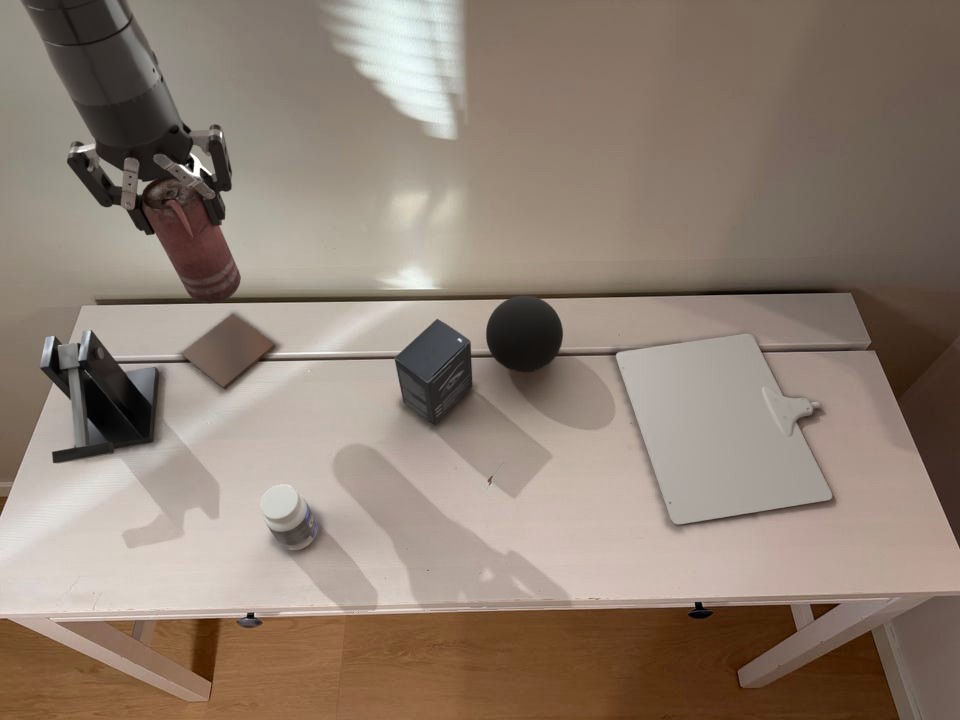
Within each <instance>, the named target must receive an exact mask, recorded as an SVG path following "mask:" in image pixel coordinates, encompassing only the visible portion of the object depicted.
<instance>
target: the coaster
mask: <svg viewBox="0 0 960 720" xmlns="http://www.w3.org/2000/svg"><path fill="white" fill-rule="evenodd" d="M275 348H276V344H275V343H274V342H273V341H271V340H270V339H269V338H267V337H266V336H264V335H263V334H261V333H260V332H259V331H258V330H256V329H255V328H253V326H250V325H249V324H248V323H246V322H245V321H243V319H241V318H240V317H238V316H237V315H235V314H234V313H231V314H230V315H229V316H227V317H225V318H224V319H223V320H222V321H221V322H220V323H218V324H217V325H216V326H214V327H213V328H212V329H210V330H209V331H208V332H207V333H205V334H204V335H203V336H202V337H200V338H199V339H197V340H196V341H195V342H194V343H193V344H191V345H190V346H189V347H187V348H186V349H185V350H183V351H182V352H181V353H180V354H181V356H182V357H183V358H184V359H185V360H186V361H188V362H189V363H191V364H192V365H193V366H194V367H195V368H197V369H198V370H199V371H201V372H202V373H203V374H204V375H206V376H207V377H208V378H210V379H211V380H212V381H213V382H214V383H216V384H217V385H218V386H220V387H221V388H222V389H224V390H226V389H228V387H230V386H231V385H232V384H233V383H235V382H236V381H237V380H238V379H239V378H240V377H242V376H243V375H244V374H245V373H246V372H247V371H249V370H250V369H251V368H252V367H253V366H255V365H256V364H257V363H258V362H260V361H261V360H262V359H263V358H265V356H266V355H268V354H269V353H270V352H271V351H273V350H274V349H275Z"/></svg>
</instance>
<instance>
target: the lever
mask: <svg viewBox="0 0 960 720" xmlns="http://www.w3.org/2000/svg"><path fill="white" fill-rule="evenodd" d="M80 345H81V342H72V343H65V344H63V345H58V355H59V366H60V369H61V370H64V371H67V372H68V374H69V384H70V395H71V400H70V405H71V414H72V424H73V434H74V447H75V446H76V447H75V448H74V447H70V448H64V449H60V450H53V451H52V452H51V458H52V463H53V464H65V463H70V462H76V461H80V460H87V459H93V458H97V457H103V456H108V455H113V454H115V449H114V447H113V442H103V443H97V444H92V445H90V442H89V432H88V422H87V412H86V402H85V392H84V382H83V372H82V371H83V370H85V369H84V368H83V367H82V366H81V365H80V364H79V362H78V357H79V351H80Z"/></svg>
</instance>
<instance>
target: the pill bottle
mask: <svg viewBox="0 0 960 720" xmlns="http://www.w3.org/2000/svg"><path fill="white" fill-rule="evenodd" d="M259 506H260V510H261V513H262V518H263V522H264V523H265V525H266V527H267V528H268V529H269V531H270V532H271V534H272V535H273V537H274V539H275V540H276V542H277V543H278V544H279V545H280V546H281V547H283V548H284V549H286V550H288V551H298V550H302V549H305V548H307V547H308V546H309V545H310V544H311V543H312V542H313V541H314V539H315V538H316V537H317V533H318V522H317V519H316V517H315V515H314V513H313V512H312V510H311V507H310V506H309V504H308V502H307V500H306V498H305V497H304V495H302V493H300V492H298V491H297V490H296V488H294V487H293V486H292V485H290V484H286V483H279V484H275V485H273V486H271V487H270V488H268V489H267V490H266V491H265V492H264V493H263V495H262V497H261V499H260V504H259Z"/></svg>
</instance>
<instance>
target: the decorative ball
mask: <svg viewBox="0 0 960 720" xmlns="http://www.w3.org/2000/svg"><path fill="white" fill-rule="evenodd" d="M563 330H564V329H563V324H562V321H561V318H560V316H559V315H558V313H557V311H556V310H555V308H554V307H553V306H551V304H549V303H548V302H546V301H545V300H543V299H541V298H539V297H536V296H532V295H517V296H513V297H510V298H508V299H506V300H504V301H503V302H501V303H500V304H499V305H498V306H496V308H495V309H494V310H493V311H492V313H491V314H490V317H489V319H488V321H487V324H486V330H485V337H486V338H485V339H486V343H487V347H488V350H489V352H490V354H491V356H492V357H493V358H494V359H495V360H496V362H497V363H498V364H500V365H501V366H503V367H504V368H506V369H507V370H510V371H512V372H516V373H517V372H518V373H532V372H536V371H538V370H541V369H543V368H545V367H547V366H548V365H550V363H551V362H553V360H555V358H556V357H557V355H558V354H559V351H560V349H561V347H562V344H563V338H564V331H563Z"/></svg>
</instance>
